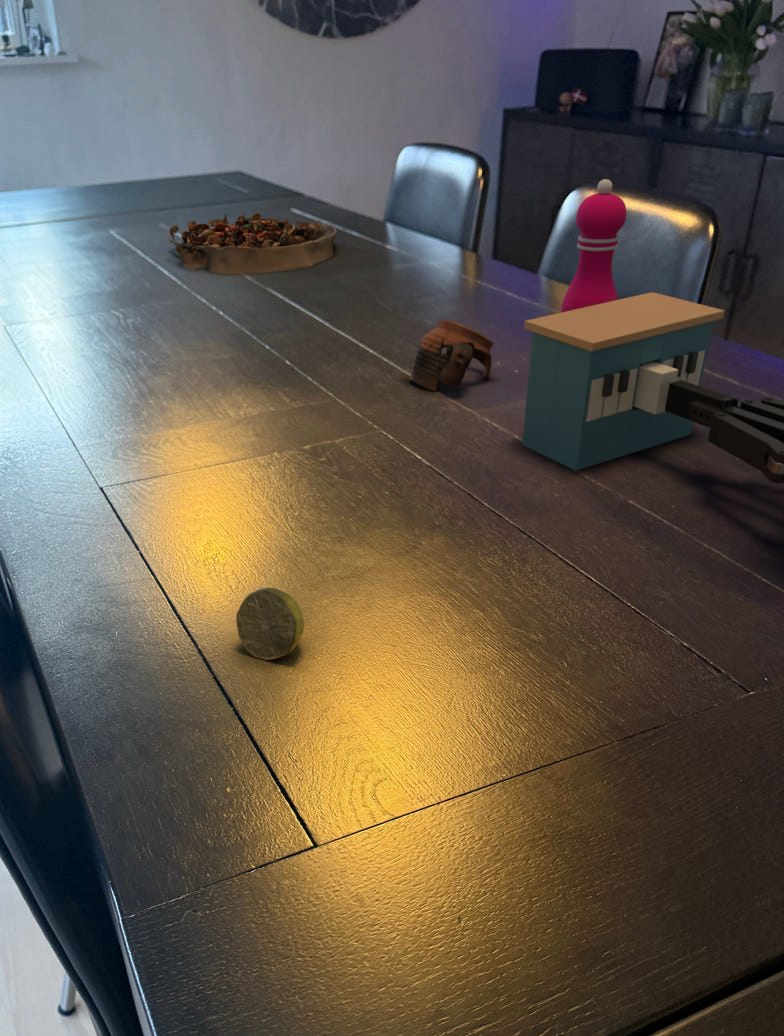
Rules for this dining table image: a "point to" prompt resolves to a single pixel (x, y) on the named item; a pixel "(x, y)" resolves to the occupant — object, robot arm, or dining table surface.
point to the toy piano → (609, 375)
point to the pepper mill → (596, 249)
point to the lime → (269, 623)
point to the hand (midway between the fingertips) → (672, 395)
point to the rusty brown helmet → (449, 355)
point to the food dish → (253, 245)
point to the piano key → (653, 386)
